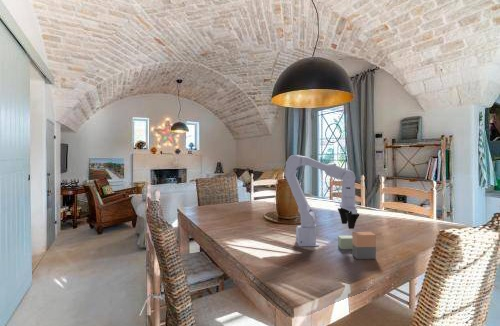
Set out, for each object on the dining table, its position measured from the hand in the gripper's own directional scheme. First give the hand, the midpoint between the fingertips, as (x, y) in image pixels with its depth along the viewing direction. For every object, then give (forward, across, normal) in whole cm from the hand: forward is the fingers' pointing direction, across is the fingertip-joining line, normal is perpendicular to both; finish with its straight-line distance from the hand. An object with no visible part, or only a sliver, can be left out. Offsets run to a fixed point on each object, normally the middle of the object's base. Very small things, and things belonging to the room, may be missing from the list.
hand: (347, 226), depth 113 cm
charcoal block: (+10, -10, -3) cm, 15 cm away
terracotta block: (+5, -10, -3) cm, 11 cm away
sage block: (+10, +1, -1) cm, 10 cm away
